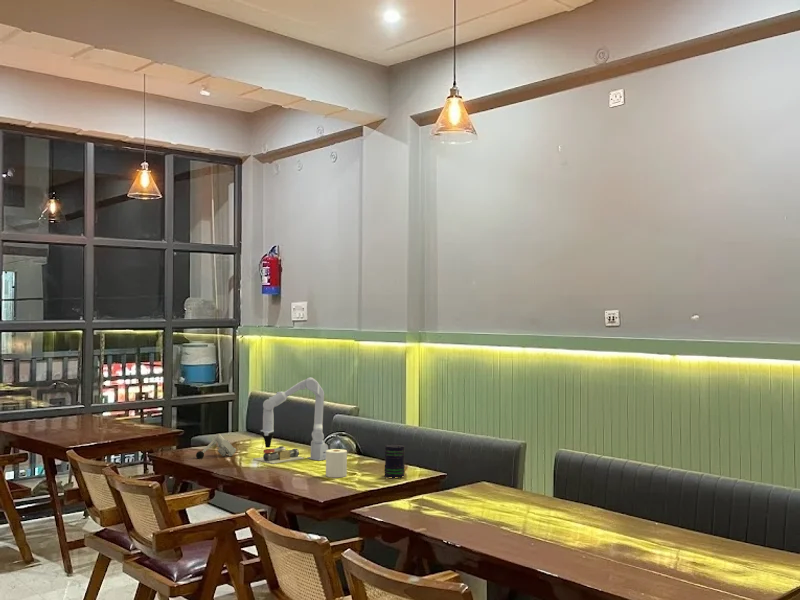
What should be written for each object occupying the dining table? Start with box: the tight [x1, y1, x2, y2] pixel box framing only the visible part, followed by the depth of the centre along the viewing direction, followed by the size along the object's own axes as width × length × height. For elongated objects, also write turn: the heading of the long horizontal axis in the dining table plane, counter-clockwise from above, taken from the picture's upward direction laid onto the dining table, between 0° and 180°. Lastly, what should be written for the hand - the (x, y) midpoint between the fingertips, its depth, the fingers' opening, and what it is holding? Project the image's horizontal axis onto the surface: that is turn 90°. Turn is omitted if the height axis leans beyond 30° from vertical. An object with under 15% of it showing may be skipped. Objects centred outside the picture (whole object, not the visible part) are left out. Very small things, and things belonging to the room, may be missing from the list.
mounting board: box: [252, 455, 305, 465], centre depth 415 cm, size 16×22×1 cm
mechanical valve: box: [195, 433, 237, 460], centre depth 418 cm, size 10×18×15 cm
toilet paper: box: [325, 448, 348, 478], centre depth 374 cm, size 10×10×12 cm
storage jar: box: [383, 443, 406, 479], centre depth 374 cm, size 10×10×15 cm
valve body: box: [262, 448, 300, 461], centre depth 413 cm, size 6×21×5 cm, turn 138°
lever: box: [262, 445, 287, 454], centre depth 410 cm, size 14×4×2 cm, turn 141°
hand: (267, 447), depth 414 cm, fingers closed
